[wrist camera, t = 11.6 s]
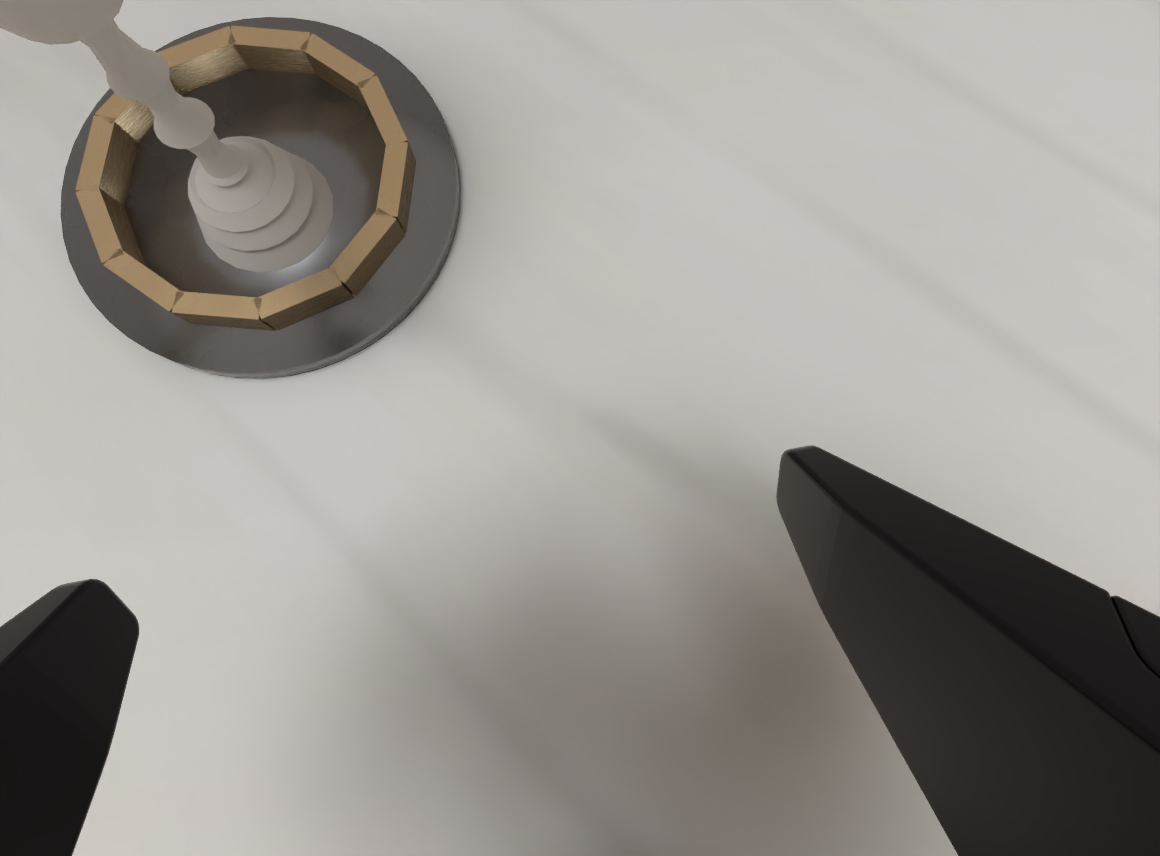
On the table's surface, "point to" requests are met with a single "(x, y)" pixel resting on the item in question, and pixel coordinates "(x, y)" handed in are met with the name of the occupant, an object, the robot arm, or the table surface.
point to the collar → (301, 127)
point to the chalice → (197, 143)
